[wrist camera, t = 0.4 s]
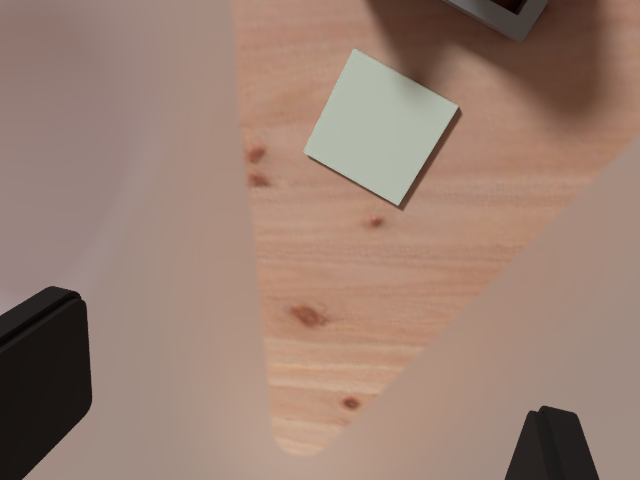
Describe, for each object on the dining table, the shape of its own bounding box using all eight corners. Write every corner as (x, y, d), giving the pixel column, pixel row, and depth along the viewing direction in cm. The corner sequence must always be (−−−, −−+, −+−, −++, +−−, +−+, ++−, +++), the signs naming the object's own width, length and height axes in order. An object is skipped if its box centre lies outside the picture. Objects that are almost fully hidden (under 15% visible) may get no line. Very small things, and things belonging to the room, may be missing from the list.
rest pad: (355, 48, 35) (353, 48, 34) (458, 105, 35) (458, 106, 34) (305, 150, 38) (302, 152, 38) (398, 203, 38) (398, 205, 37)
